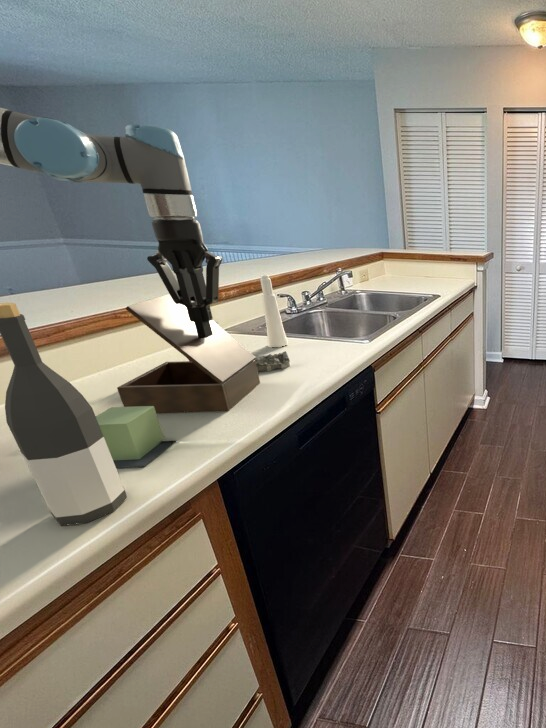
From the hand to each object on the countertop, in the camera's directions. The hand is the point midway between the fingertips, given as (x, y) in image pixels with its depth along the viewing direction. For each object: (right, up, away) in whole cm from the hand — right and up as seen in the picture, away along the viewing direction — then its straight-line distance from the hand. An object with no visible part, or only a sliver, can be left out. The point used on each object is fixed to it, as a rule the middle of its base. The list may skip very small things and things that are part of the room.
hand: (205, 336), depth 91 cm
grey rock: (0, -7, +24) cm, 25 cm away
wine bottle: (+4, -29, -29) cm, 41 cm away
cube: (-2, -22, -15) cm, 27 cm away
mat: (-2, -23, -15) cm, 27 cm away
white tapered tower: (-9, +2, +45) cm, 46 cm away
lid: (-2, 0, 0) cm, 2 cm away
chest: (-5, -14, +5) cm, 16 cm away
